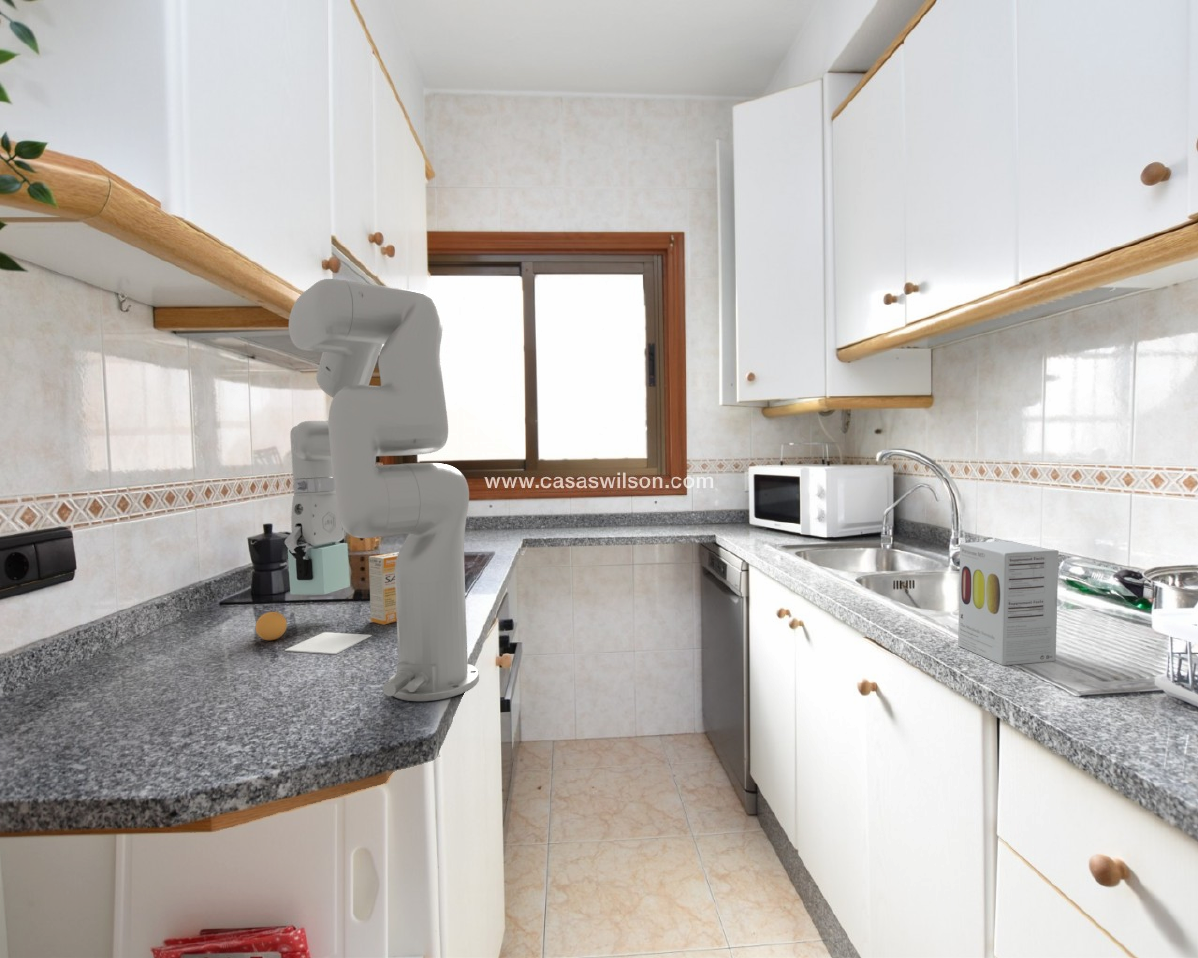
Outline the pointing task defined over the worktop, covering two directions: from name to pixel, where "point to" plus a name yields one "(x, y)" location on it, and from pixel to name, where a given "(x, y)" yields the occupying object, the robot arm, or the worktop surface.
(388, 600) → the supplement box
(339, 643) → the tape square
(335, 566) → the mint foam cube
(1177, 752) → the worktop surface
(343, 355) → the robot arm
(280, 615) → the ball
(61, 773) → the worktop surface
